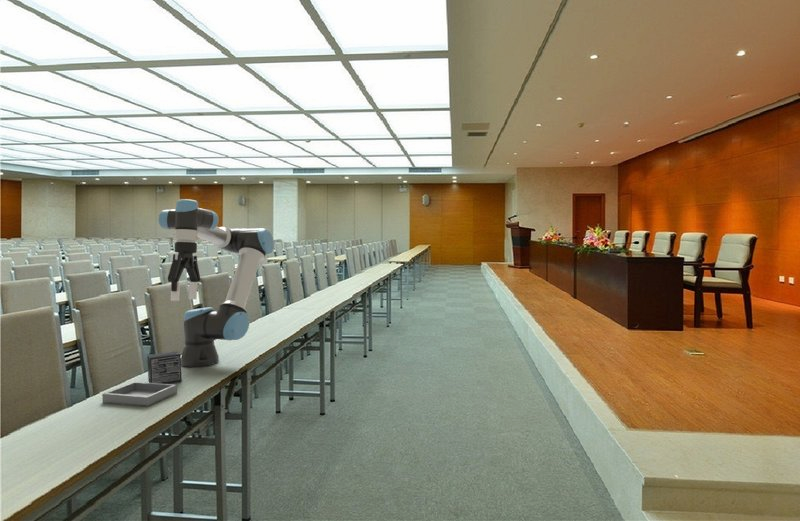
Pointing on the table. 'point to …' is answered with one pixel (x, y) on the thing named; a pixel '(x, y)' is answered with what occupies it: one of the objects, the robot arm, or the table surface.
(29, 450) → the table surface
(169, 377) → the small box
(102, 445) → the table surface
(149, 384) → the tray
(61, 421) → the table surface
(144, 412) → the table surface
